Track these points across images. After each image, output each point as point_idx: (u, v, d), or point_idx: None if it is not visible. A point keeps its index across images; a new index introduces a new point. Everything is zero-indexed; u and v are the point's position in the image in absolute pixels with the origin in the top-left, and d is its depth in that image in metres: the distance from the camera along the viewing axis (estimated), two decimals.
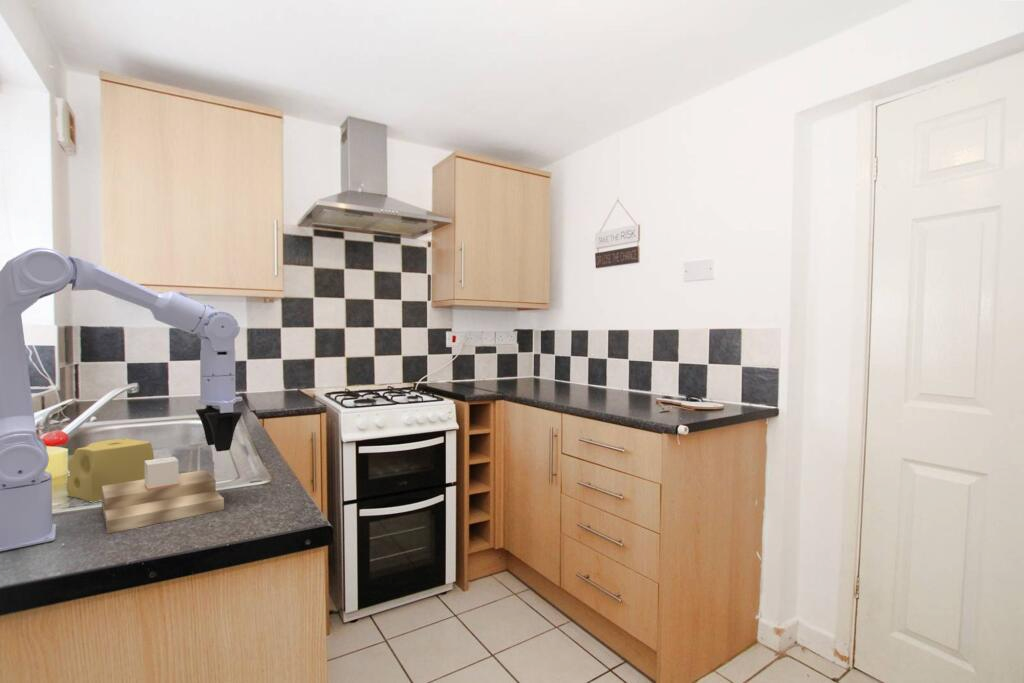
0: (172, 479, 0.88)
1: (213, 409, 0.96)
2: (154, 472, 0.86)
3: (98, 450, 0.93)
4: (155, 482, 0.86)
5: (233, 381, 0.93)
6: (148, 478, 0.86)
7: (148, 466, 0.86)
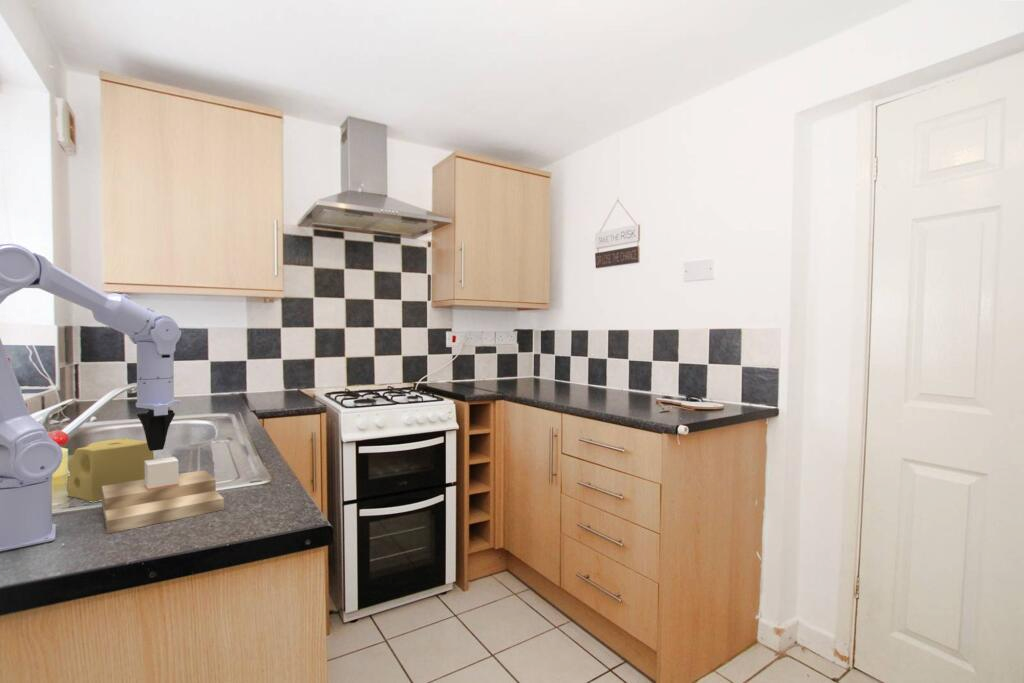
0: (172, 479, 0.88)
1: None
2: (154, 472, 0.86)
3: (98, 450, 0.93)
4: (155, 482, 0.86)
5: (171, 384, 0.94)
6: (148, 478, 0.86)
7: (148, 466, 0.86)
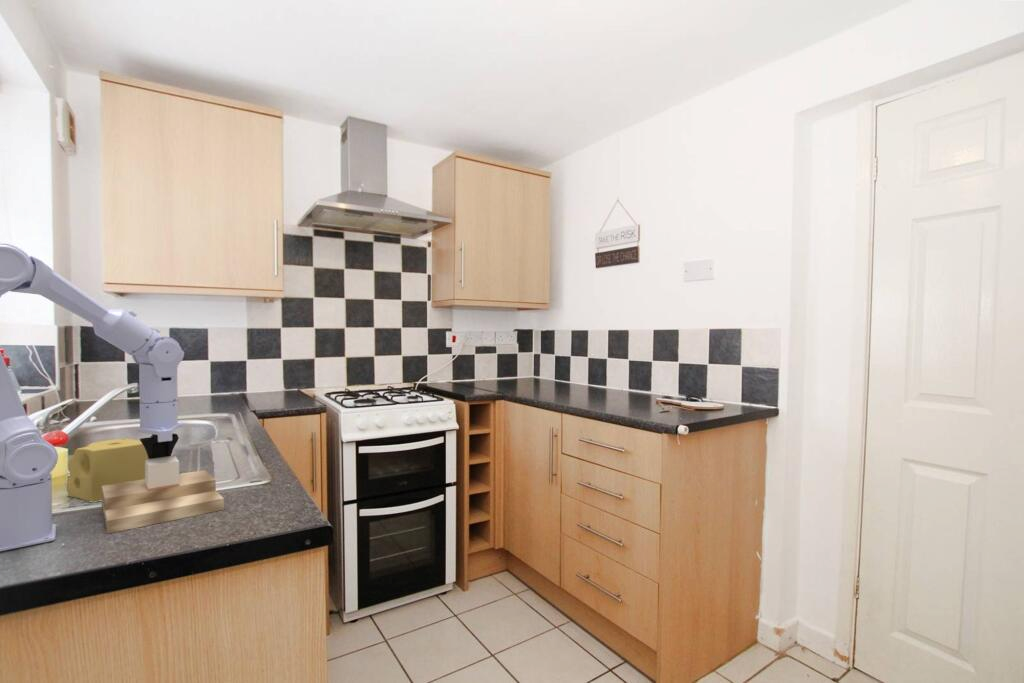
0: (172, 479, 0.88)
1: None
2: (155, 472, 0.86)
3: (98, 450, 0.93)
4: (155, 482, 0.86)
5: (175, 407, 0.91)
6: (148, 478, 0.86)
7: (149, 466, 0.86)
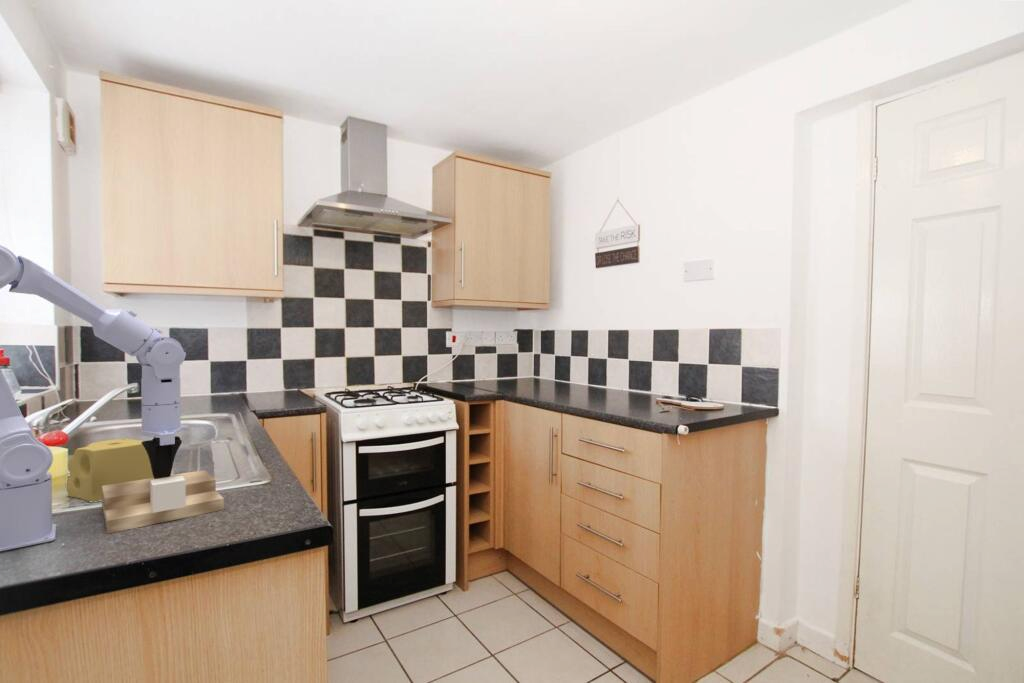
0: None
1: None
2: None
3: (98, 450, 0.93)
4: None
5: (177, 409, 0.89)
6: (152, 508, 0.82)
7: None
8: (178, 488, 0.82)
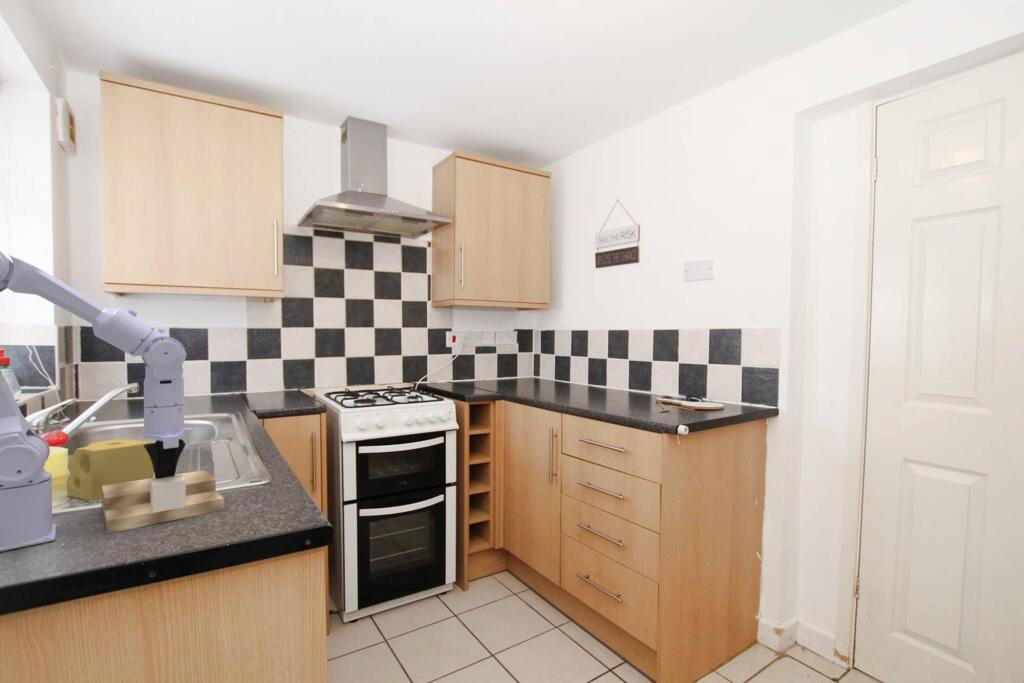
0: None
1: None
2: None
3: (98, 450, 0.93)
4: None
5: (181, 411, 0.86)
6: (152, 508, 0.82)
7: None
8: (178, 488, 0.82)
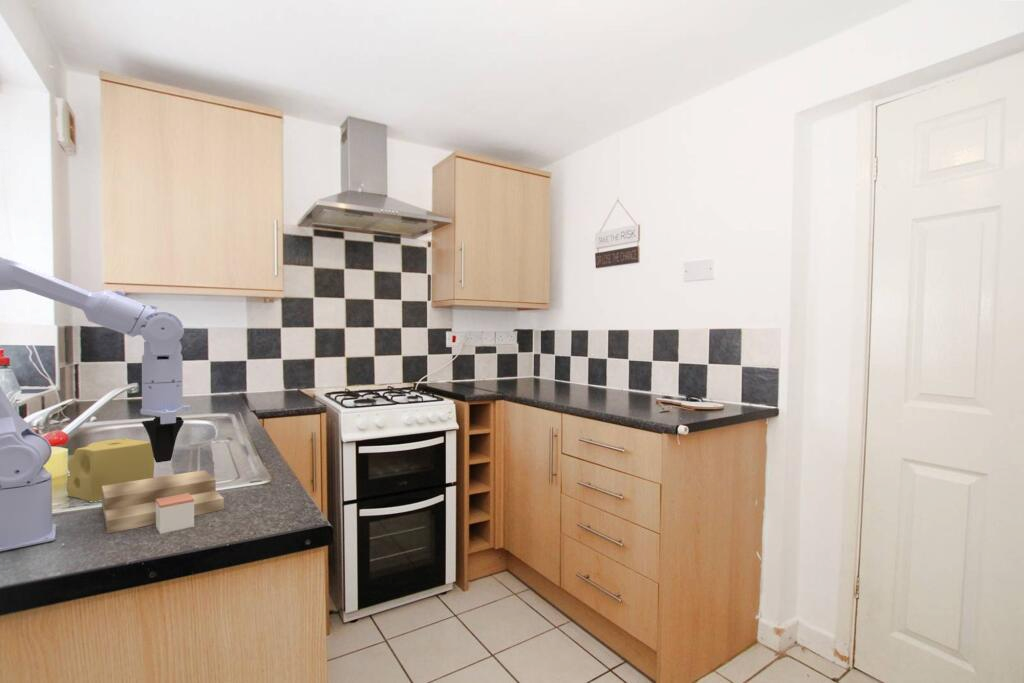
0: None
1: None
2: None
3: (98, 450, 0.93)
4: None
5: (179, 388, 0.85)
6: None
7: None
8: None
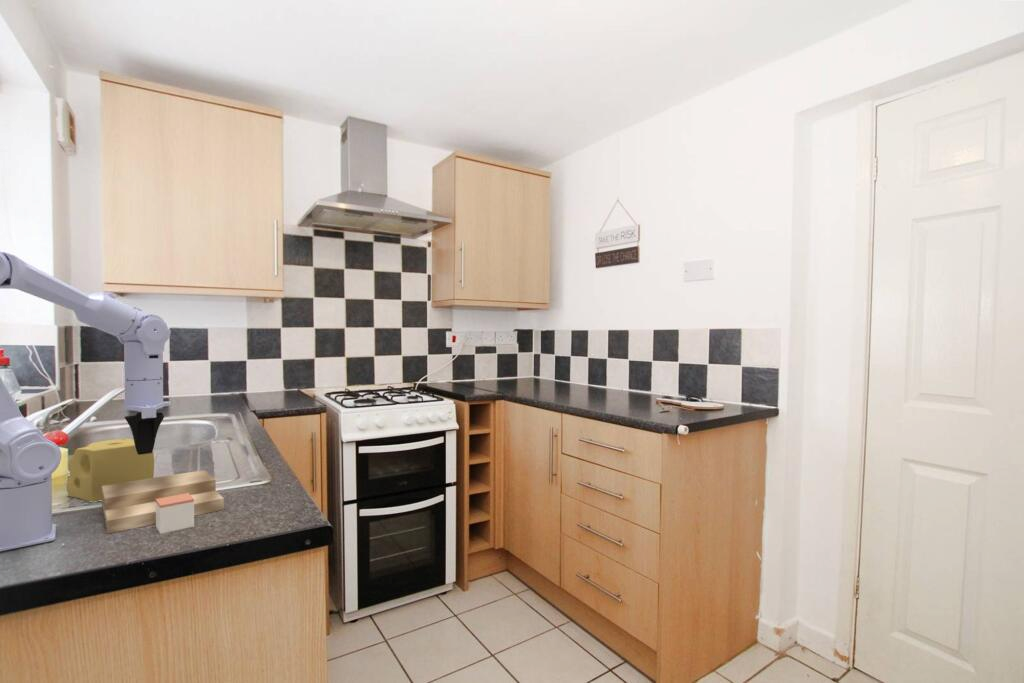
0: None
1: None
2: None
3: (98, 450, 0.93)
4: None
5: (160, 385, 0.91)
6: None
7: None
8: None
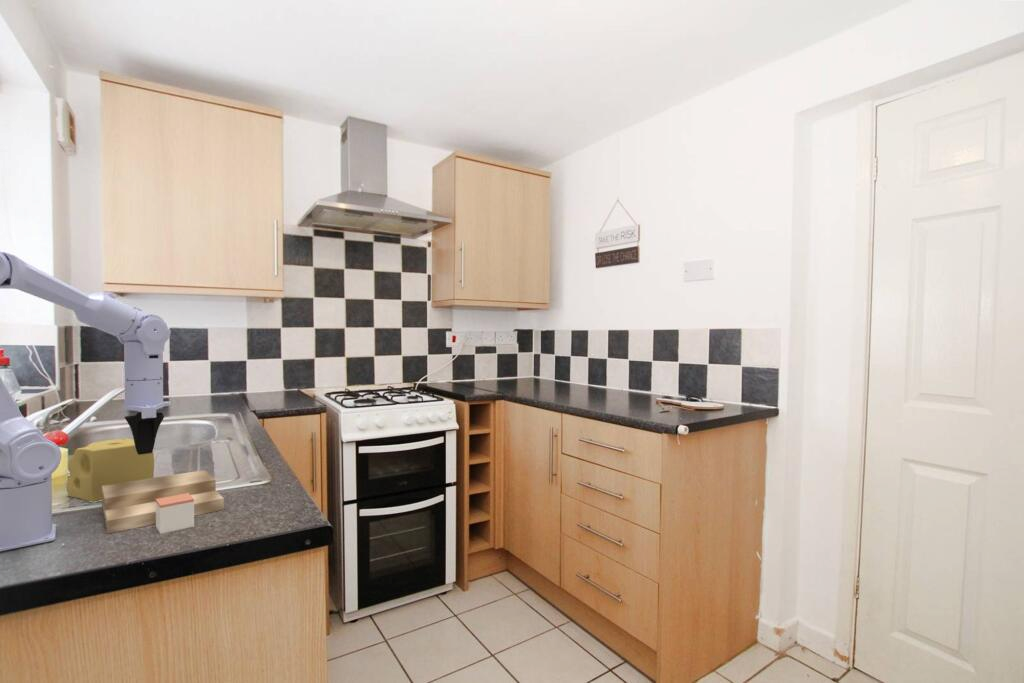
0: None
1: None
2: None
3: (98, 450, 0.93)
4: None
5: (160, 385, 0.91)
6: None
7: None
8: None
